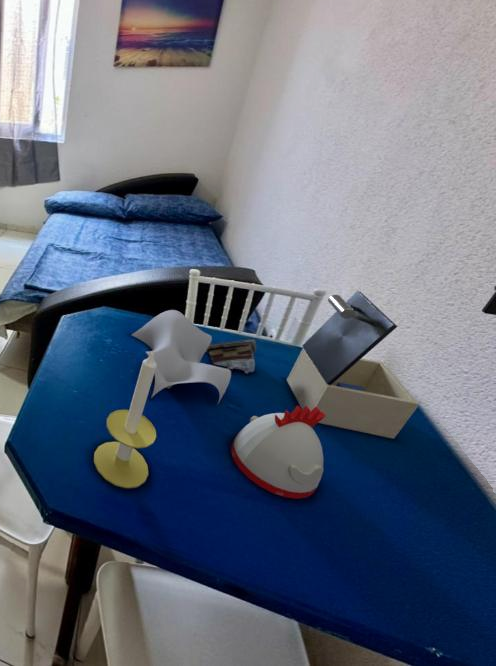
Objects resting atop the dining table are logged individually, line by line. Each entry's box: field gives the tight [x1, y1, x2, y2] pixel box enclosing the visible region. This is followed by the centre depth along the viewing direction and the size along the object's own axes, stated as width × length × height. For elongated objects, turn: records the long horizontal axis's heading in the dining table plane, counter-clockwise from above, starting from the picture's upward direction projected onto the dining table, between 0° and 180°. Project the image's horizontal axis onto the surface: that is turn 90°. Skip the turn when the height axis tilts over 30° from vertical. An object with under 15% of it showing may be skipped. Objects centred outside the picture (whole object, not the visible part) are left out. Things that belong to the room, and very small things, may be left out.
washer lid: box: [301, 290, 398, 385], centre depth 85 cm, size 16×14×7 cm
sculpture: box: [131, 309, 232, 406], centre depth 100 cm, size 25×19×10 cm
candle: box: [93, 350, 157, 489], centre depth 70 cm, size 10×10×27 cm
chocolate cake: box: [205, 338, 258, 374], centre depth 103 cm, size 10×7×12 cm
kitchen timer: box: [230, 405, 326, 500], centre depth 74 cm, size 14×14×15 cm
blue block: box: [336, 382, 365, 392], centre depth 90 cm, size 4×4×4 cm
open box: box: [286, 347, 420, 440], centre depth 89 cm, size 16×14×10 cm
